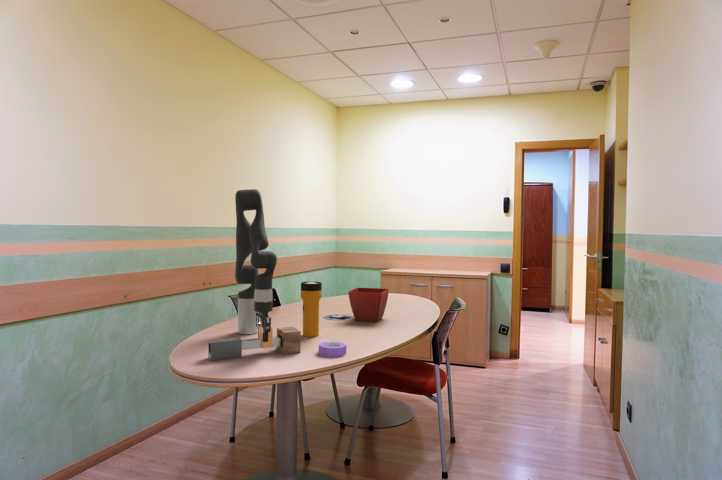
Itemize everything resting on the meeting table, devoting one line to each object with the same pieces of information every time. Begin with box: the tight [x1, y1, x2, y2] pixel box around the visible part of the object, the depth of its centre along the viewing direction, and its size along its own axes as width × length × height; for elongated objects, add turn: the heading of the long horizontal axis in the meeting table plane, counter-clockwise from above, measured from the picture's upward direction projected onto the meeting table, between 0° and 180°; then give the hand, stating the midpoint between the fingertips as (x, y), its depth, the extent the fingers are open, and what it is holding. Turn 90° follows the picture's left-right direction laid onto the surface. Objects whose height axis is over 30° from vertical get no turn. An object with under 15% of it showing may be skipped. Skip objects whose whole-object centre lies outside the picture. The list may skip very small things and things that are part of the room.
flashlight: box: [300, 281, 323, 338], centre depth 240 cm, size 10×26×10 cm
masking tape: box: [318, 340, 348, 358], centre depth 208 cm, size 12×12×4 cm
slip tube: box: [241, 326, 281, 351], centre depth 203 cm, size 6×23×8 cm, turn 118°
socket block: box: [276, 326, 302, 355], centre depth 210 cm, size 10×7×9 cm
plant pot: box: [348, 287, 390, 323], centre depth 282 cm, size 19×19×17 cm
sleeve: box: [207, 336, 243, 362], centre depth 198 cm, size 5×12×7 cm, turn 118°
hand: (263, 339), depth 205 cm, fingers closed on slip tube, 6 cm apart
